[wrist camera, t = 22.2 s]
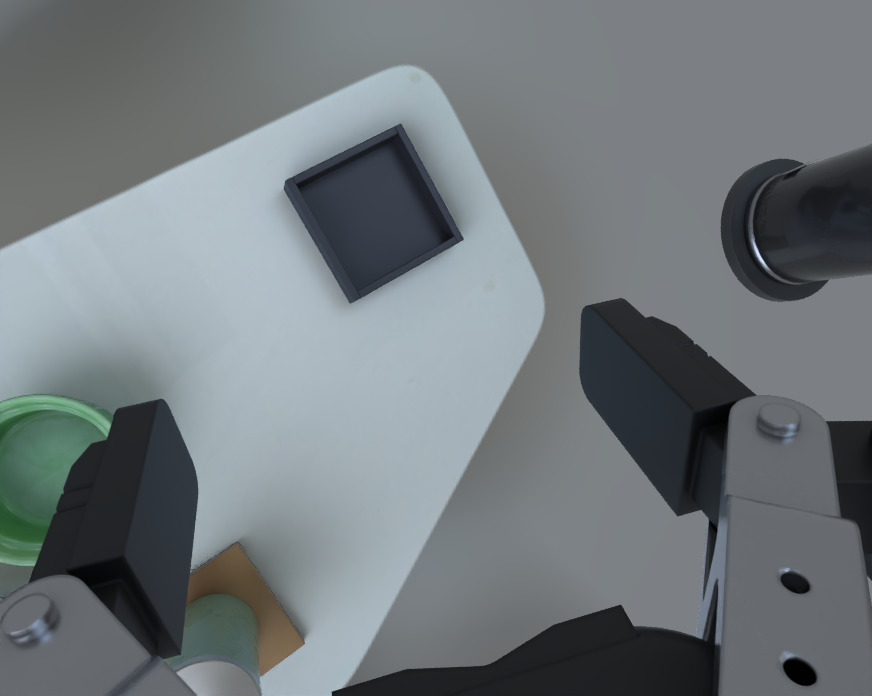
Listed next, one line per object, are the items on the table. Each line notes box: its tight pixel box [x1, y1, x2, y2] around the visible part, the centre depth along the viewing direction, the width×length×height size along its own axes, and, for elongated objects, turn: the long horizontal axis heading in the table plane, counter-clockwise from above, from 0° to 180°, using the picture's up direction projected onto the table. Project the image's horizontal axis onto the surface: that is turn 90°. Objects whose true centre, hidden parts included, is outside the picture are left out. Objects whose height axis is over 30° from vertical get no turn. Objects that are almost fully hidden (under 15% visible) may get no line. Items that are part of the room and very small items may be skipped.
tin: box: [163, 594, 262, 696], centre depth 34 cm, size 5×5×9 cm
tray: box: [284, 124, 463, 303], centre depth 41 cm, size 9×9×2 cm
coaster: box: [186, 542, 305, 677], centre depth 39 cm, size 8×8×1 cm
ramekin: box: [0, 394, 113, 566], centre depth 34 cm, size 9×9×4 cm
